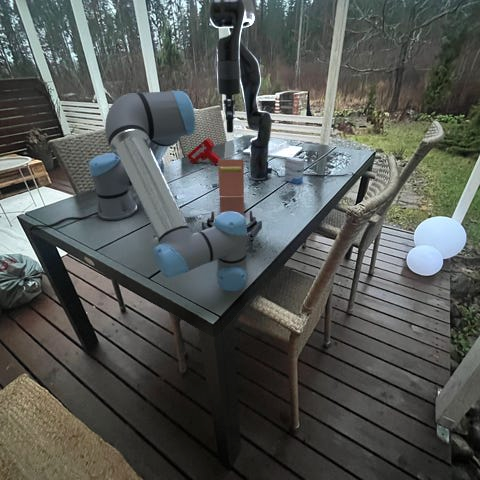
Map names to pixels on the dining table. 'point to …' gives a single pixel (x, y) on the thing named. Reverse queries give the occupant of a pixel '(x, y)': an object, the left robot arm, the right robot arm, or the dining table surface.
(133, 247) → the dining table surface
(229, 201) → the chest
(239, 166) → the block with yellow handle
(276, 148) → the relief map
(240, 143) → the dining table surface
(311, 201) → the dining table surface
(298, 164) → the ink box
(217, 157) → the toy gun
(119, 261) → the dining table surface
